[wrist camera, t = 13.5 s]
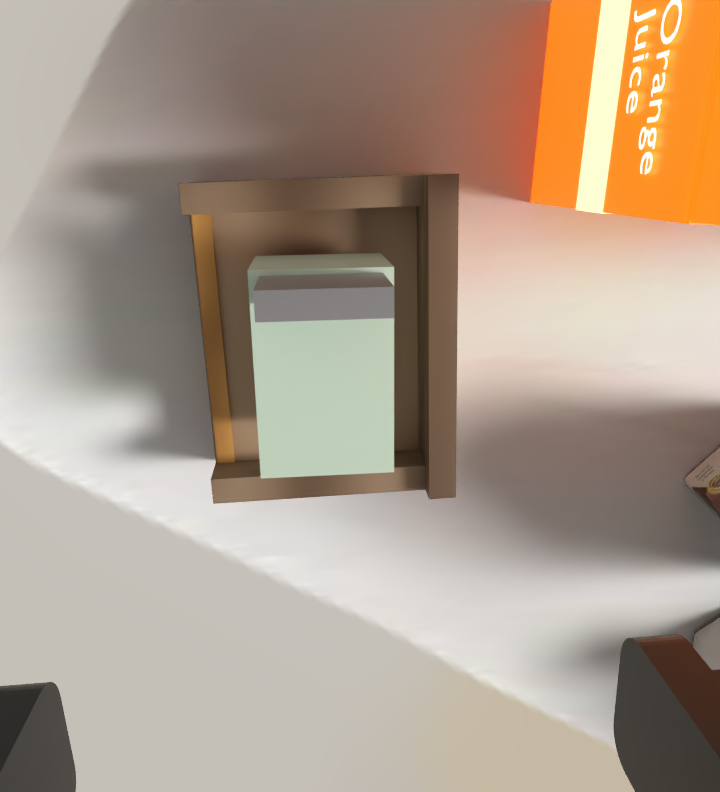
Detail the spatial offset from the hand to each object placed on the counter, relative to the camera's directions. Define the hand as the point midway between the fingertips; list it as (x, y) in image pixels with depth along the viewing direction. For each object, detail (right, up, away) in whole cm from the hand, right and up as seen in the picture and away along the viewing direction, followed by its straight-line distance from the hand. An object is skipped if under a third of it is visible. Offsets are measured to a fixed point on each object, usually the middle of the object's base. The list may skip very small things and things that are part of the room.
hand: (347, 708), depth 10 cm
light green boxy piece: (-2, +7, +22) cm, 23 cm away
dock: (-2, +8, +25) cm, 26 cm away
